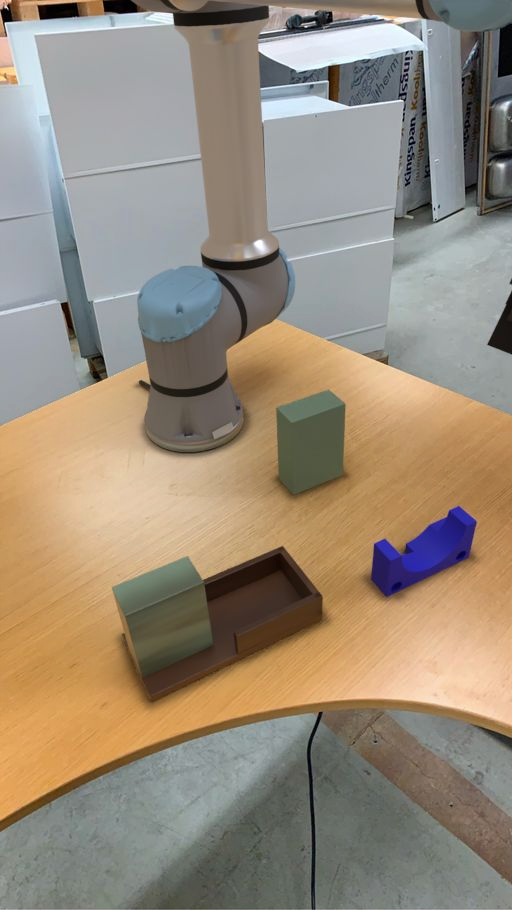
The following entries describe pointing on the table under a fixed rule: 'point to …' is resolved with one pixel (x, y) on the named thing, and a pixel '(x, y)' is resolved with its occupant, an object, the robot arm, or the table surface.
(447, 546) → the blue cradle bracket
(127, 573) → the table surface
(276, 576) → the brown desk organizer
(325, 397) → the green rectangular block
